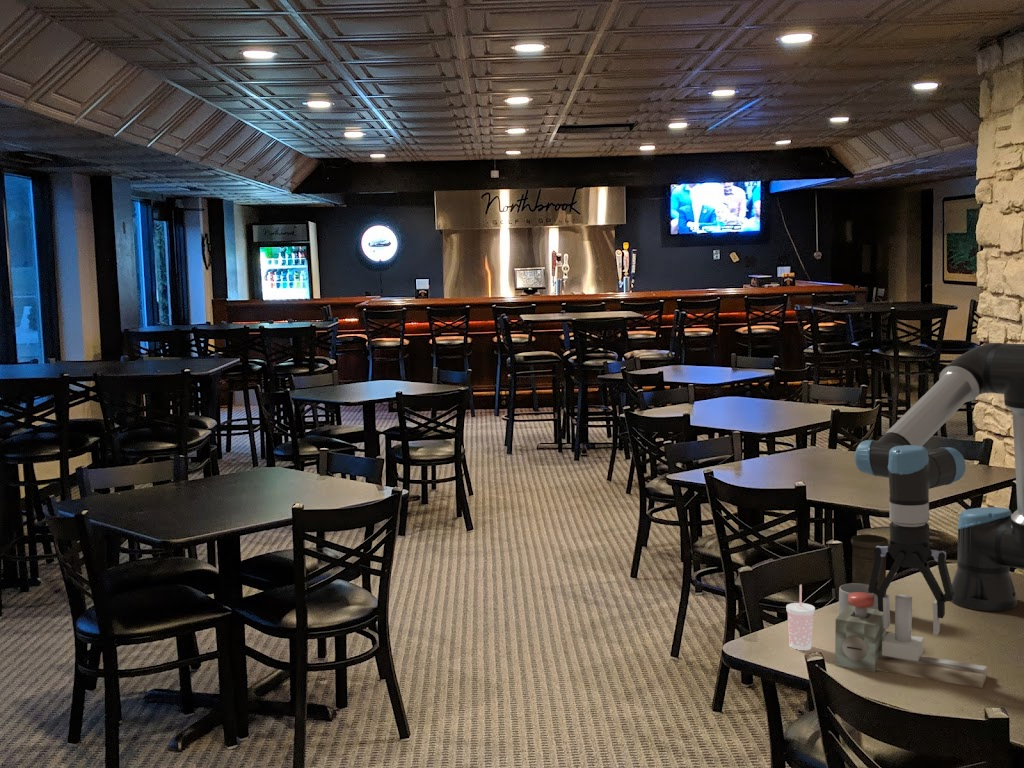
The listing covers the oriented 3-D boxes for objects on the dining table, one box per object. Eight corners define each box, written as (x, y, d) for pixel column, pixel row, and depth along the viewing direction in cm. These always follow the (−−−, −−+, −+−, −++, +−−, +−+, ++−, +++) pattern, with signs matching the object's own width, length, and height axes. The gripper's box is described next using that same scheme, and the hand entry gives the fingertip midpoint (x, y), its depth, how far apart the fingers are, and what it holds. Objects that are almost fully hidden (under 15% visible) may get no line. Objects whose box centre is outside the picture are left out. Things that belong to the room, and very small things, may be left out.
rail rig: (987, 673, 209) (989, 625, 208) (980, 691, 200) (981, 642, 199) (846, 649, 224) (847, 605, 223) (834, 666, 215) (834, 619, 214)
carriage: (923, 651, 214) (924, 595, 212) (917, 661, 209) (919, 603, 207) (888, 645, 217) (889, 590, 216) (881, 655, 212) (882, 598, 211)
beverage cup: (787, 640, 230) (787, 579, 229) (815, 643, 228) (816, 581, 227) (784, 650, 225) (784, 587, 223) (813, 653, 223) (814, 590, 221)
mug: (867, 645, 226) (868, 597, 225) (831, 636, 232) (832, 589, 231) (891, 631, 234) (892, 584, 233) (856, 622, 240) (856, 577, 239)
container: (873, 620, 242) (874, 545, 240) (841, 610, 249) (842, 538, 247) (896, 612, 247) (897, 538, 245) (863, 602, 254) (864, 531, 252)
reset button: (876, 619, 218) (876, 594, 217) (870, 627, 213) (871, 601, 213) (851, 615, 220) (851, 590, 220) (845, 623, 216) (845, 597, 215)
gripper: (969, 521, 207) (971, 630, 209) (858, 514, 218) (860, 617, 220) (964, 530, 201) (966, 642, 203) (850, 522, 212) (852, 628, 214)
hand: (911, 629), depth 212 cm, fingers open, 9 cm apart
